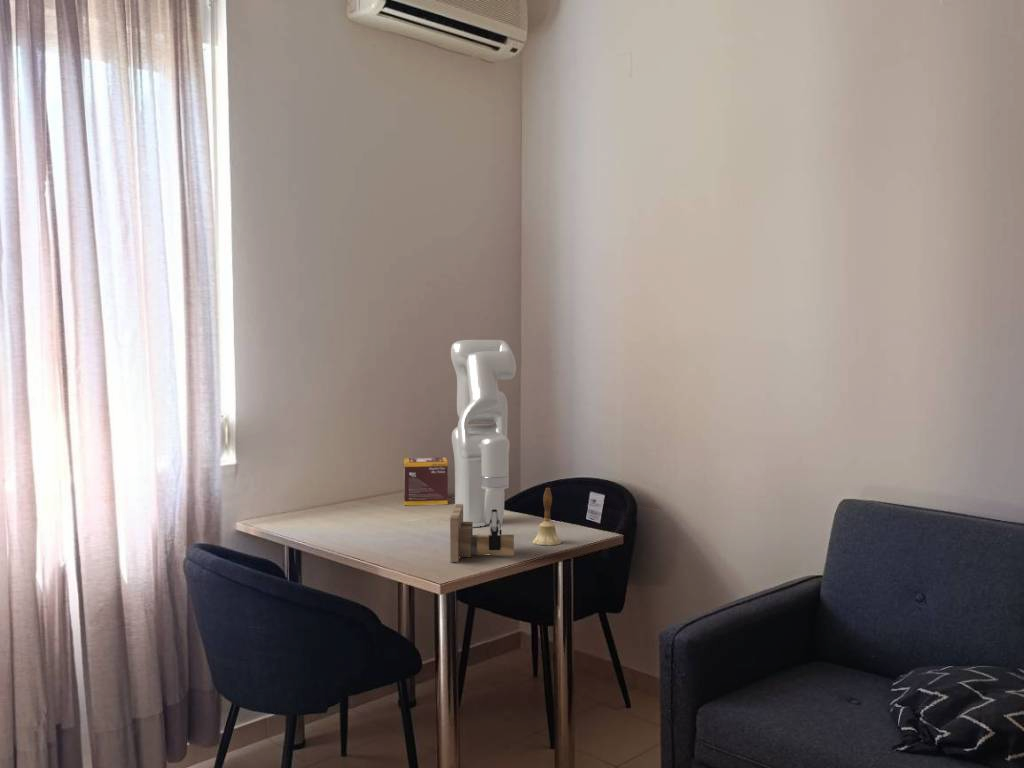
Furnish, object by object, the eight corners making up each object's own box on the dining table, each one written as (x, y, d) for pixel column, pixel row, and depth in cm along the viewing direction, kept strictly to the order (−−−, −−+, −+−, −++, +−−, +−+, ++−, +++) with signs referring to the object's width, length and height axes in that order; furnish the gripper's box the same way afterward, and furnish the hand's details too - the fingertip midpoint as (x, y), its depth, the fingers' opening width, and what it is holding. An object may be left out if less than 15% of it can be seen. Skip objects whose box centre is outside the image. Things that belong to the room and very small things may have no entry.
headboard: (456, 545, 269) (456, 503, 268) (473, 545, 269) (473, 503, 268) (450, 562, 249) (450, 517, 248) (469, 562, 249) (469, 518, 248)
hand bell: (541, 538, 278) (541, 484, 277) (566, 541, 274) (566, 487, 273) (527, 543, 271) (527, 488, 270) (552, 547, 267) (552, 491, 266)
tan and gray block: (463, 552, 261) (463, 534, 261) (513, 552, 260) (513, 534, 260) (462, 555, 257) (462, 537, 257) (513, 555, 257) (513, 537, 257)
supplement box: (448, 504, 332) (448, 460, 331) (404, 506, 330) (404, 461, 329) (446, 499, 342) (446, 457, 341) (403, 500, 340) (403, 457, 339)
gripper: (482, 477, 266) (483, 539, 267) (479, 487, 249) (480, 554, 250) (509, 477, 266) (509, 540, 267) (508, 487, 249) (508, 554, 250)
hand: (495, 546), depth 259 cm, fingers open, 6 cm apart
